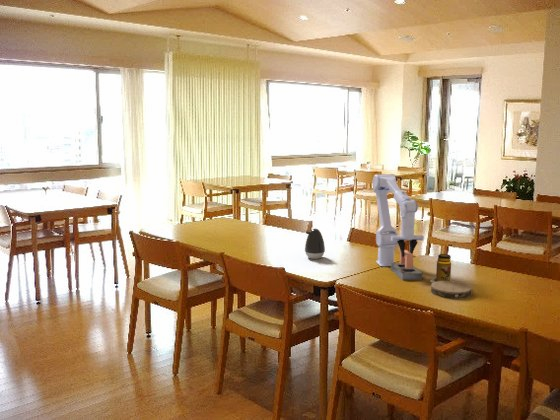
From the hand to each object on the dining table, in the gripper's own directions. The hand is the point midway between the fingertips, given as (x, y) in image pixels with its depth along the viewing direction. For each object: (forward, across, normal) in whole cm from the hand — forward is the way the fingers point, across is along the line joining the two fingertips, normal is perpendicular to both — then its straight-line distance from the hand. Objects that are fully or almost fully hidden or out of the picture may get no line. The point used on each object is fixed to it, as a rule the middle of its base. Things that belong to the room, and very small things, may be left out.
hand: (406, 256), depth 256 cm
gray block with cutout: (+9, 0, 0) cm, 9 cm away
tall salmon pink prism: (+4, 0, 0) cm, 4 cm away
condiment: (+9, +12, -12) cm, 19 cm away
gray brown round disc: (+9, +10, -28) cm, 31 cm away
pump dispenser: (+9, -37, +34) cm, 51 cm away
